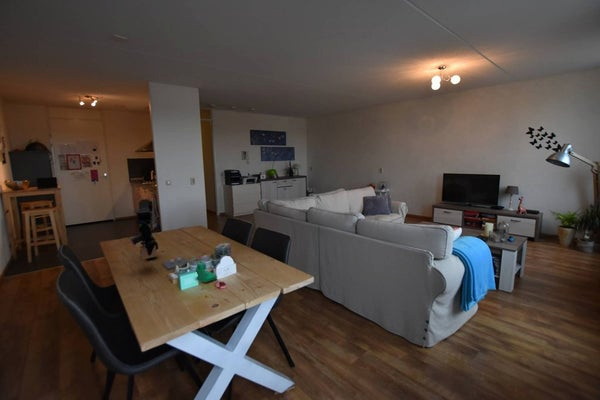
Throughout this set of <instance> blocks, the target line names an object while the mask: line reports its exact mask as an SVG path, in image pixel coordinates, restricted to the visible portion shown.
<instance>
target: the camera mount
mask: <svg viewBox="0 0 600 400" xmlns="http://www.w3.org/2000/svg"><path fill="white" fill-rule="evenodd" d="M195 271H196V272H197V274H198V278H197V281H199V282H201V283H207V282H211V281H213V280H217V278H218V277H217V276H218V275H217V274H215V273H213V272H211V271H209V270H207V264H206V262H200V263H197V264H196V267H195ZM216 275H217V276H216Z"/></svg>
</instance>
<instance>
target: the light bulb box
mask: <svg viewBox="0 0 600 400" xmlns="http://www.w3.org/2000/svg"><path fill="white" fill-rule="evenodd" d="M231 246H232V245H231V243H227V242H222V243H220V244H218V245H217V246H215V247H214V255H215V256H216V255H220V256H224V255H227V256H231V257H232V247H231ZM215 256H214V257H215Z"/></svg>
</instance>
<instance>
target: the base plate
mask: <svg viewBox="0 0 600 400" xmlns="http://www.w3.org/2000/svg"><path fill="white" fill-rule="evenodd" d="M188 261H189V260H187V259H186V258H185V257H177V258H172V259H170V260H166V261H163V262H160V263H161V265H162V266H163V267H164V268H165V269H166V270H167V271H170V270H175V269H176V268H175V267H176V265H177V264H185V263H186V262H188Z"/></svg>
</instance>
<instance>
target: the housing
mask: <svg viewBox="0 0 600 400" xmlns="http://www.w3.org/2000/svg"><path fill="white" fill-rule="evenodd" d="M139 255H140V258H141V259H142V260H146V259H147V258H152V257H157V250H156V246H154V248H153V251H152V253H151V255H150V256H149V255H148V252H147V249H146V248H145V247H144V246H143V245H141V246H139Z"/></svg>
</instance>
